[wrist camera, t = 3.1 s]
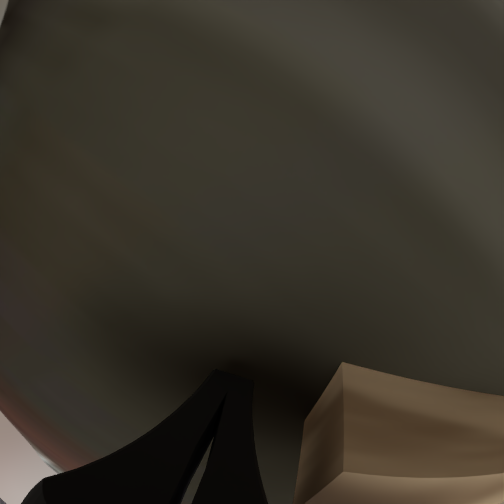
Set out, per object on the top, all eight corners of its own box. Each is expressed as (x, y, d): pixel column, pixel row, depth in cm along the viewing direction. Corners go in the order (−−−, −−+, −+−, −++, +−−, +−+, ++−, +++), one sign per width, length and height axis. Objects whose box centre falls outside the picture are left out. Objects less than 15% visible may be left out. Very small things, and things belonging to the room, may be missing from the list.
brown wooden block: (475, 441, 10) (492, 508, 6) (304, 417, 11) (291, 513, 7) (517, 395, 9) (548, 464, 5) (342, 358, 10) (343, 471, 6)
